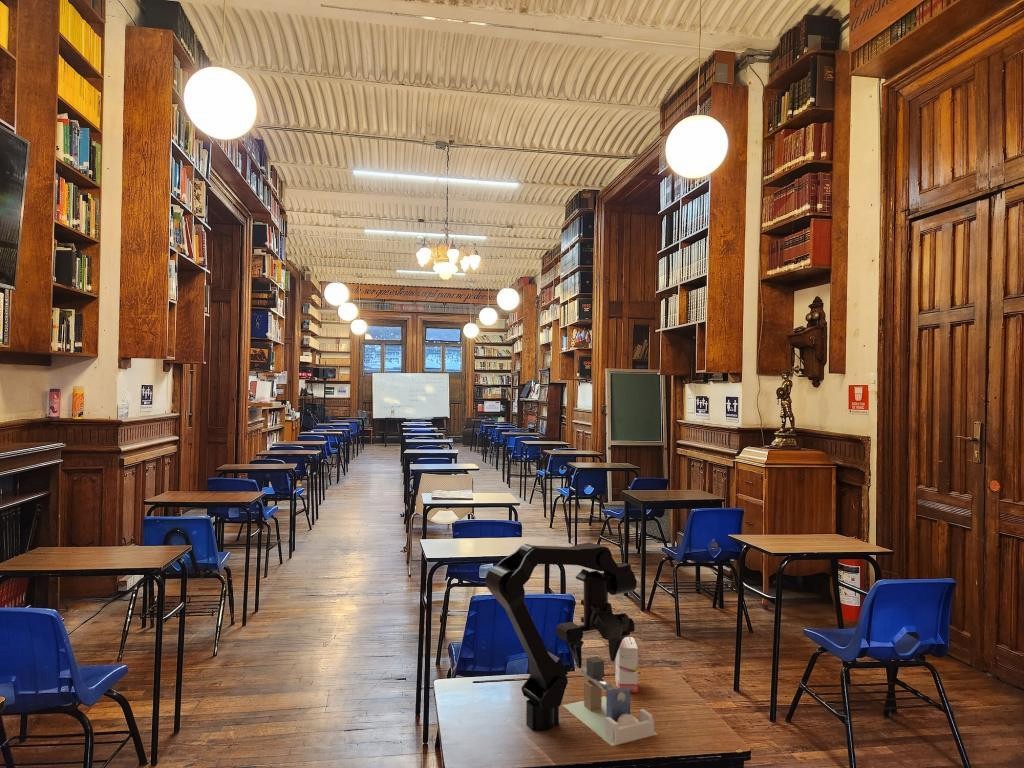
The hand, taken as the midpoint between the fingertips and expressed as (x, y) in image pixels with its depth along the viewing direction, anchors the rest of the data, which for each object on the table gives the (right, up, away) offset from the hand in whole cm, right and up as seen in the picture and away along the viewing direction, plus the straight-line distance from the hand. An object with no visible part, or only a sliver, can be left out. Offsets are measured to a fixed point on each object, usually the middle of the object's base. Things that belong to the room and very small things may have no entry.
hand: (596, 664), depth 157 cm
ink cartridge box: (+10, -12, +14) cm, 21 cm away
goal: (+6, -10, -13) cm, 17 cm away
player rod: (+1, -10, -3) cm, 10 cm away
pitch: (+2, -11, -5) cm, 13 cm away
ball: (+5, -8, -12) cm, 15 cm away
